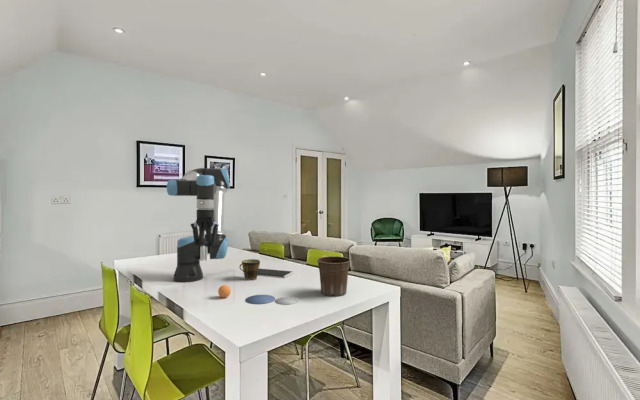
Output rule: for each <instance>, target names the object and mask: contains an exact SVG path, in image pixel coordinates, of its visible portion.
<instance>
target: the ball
mask: <svg viewBox="0 0 640 400" xmlns="http://www.w3.org/2000/svg"><path fill="white" fill-rule="evenodd" d="M231 291H232V289H231V287H230V286H229V285H227V284H222V285H220V286H219V288H218V291H217V293H218V295H219V297H221V298H228V297H229V296H230V295H231Z"/></svg>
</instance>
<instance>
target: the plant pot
mask: <svg viewBox="0 0 640 400" xmlns="http://www.w3.org/2000/svg"><path fill="white" fill-rule="evenodd" d="M316 261H317V266H318V272H319V280H320V282H319V283H320V292H321V294H322V295H324V296H327V297H331V296H334V297H341V295H342V296H345V295H346V294H347V290H348V278H349V269H350V264H351V258H349V257H345V256H335V255H334V256H332V255H331V256H322V257H321V256H320V257H318V258H316Z"/></svg>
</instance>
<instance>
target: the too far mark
mask: <svg viewBox="0 0 640 400" xmlns="http://www.w3.org/2000/svg"><path fill="white" fill-rule="evenodd" d="M274 302H275V303H276V304H278V305H285V306H286V305H287V306H288V305H293V304H297V303H298V302H299V299H298V298H296V297H292V296H283V297H279V298H275V300H274Z"/></svg>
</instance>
